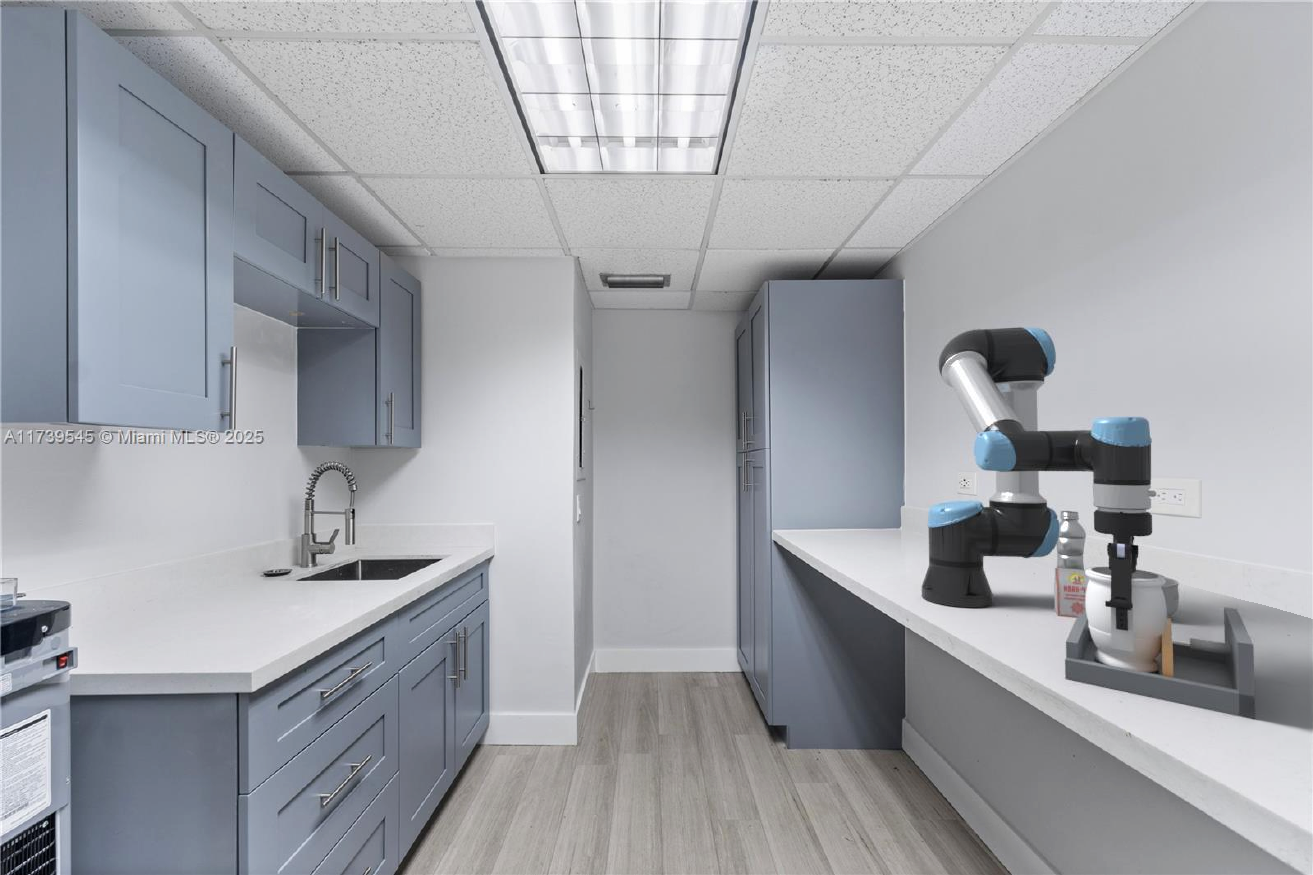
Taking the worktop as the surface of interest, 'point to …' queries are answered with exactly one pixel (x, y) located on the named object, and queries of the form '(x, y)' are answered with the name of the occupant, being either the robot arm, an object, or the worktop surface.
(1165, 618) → the jar
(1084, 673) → the tray
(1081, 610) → the white red carton
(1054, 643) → the worktop surface
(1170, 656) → the plate
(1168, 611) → the teacup
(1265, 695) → the worktop surface
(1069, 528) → the plastic bottle
